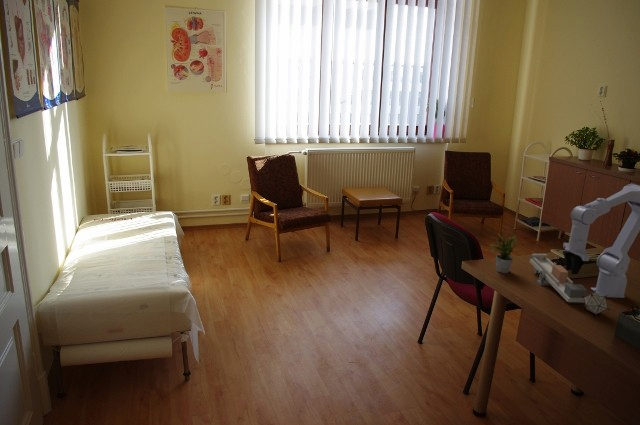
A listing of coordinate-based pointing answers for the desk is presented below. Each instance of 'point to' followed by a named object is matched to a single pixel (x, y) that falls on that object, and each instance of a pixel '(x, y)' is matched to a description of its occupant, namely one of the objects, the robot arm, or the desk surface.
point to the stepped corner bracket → (546, 283)
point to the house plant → (504, 254)
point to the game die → (595, 303)
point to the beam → (564, 289)
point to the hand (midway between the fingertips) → (571, 271)
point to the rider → (559, 273)
